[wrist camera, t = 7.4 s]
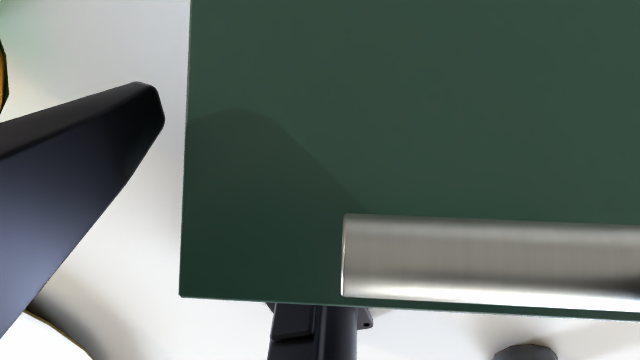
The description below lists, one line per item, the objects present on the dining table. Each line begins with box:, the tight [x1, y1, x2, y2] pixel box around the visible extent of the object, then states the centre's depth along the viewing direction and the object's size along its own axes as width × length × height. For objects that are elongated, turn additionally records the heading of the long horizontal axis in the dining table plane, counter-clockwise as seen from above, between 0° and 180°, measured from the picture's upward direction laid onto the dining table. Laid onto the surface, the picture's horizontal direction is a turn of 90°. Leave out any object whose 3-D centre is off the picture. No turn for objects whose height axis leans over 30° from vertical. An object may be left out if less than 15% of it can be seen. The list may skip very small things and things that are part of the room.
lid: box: [179, 0, 640, 322], centre depth 10 cm, size 12×12×4 cm
